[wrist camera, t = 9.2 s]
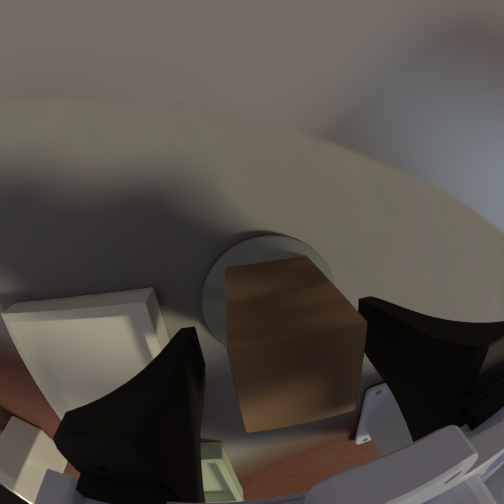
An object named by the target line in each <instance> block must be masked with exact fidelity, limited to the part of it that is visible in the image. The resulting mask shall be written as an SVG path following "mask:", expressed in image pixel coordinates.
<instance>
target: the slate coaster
mask: <svg viewBox="0 0 504 504" xmlns="http://www.w3.org/2000/svg"><path fill="white" fill-rule="evenodd" d="M301 256H308V257H309V259H310V260H311V261H312V262H313V263H314V264H315V265H316V266H317V267H318V268H319V269H320V270H321V271H322V272H323V274H324V275H325V276H326V277H327V278H328V279H329V280H330V281H331V282H332V283H333V284H334V280H333V276H332V273H331V271H330V269H329V267H328V265H327V263H326V262H325V261H324V259H323V258H322V257H321V256H320V255H319V254H318V253H317V252H316V251H315V250H314V249H313V248H311V247H310V246H309V245H307V244H306V243H304V242H302V241H300V240H298V239H296V238H293V237H290V236H285V235H279V234H265V235H258V236H253V237H250V238H247V239H244V240H242V241H240V242H238V243H236V244H234V245H233V246H231V247H230V248H228V249H227V250H226V251H225V252H224V253H223V254H221V255H220V256H219V258H218V259H217V260H216V261H215V262H214V264H213V265H212V267H211V268H210V270H209V272H208V274H207V277H206V280H205V283H204V287H203V293H202V310H203V315H204V319H205V322H206V324H207V326H208V328H209V329H210V331H211V332H212V334H213V335H214V336H215V337H216V339H217V340H218V341H219V342H221V343H222V344H223V345H224V346H226V347H227V334H226V287H225V267H232V266H240V265H247V264H254V263H260V262H267V261H274V260H281V259H288V258H295V257H301ZM334 286H335V284H334Z"/></svg>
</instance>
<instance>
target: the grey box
mask: <svg viewBox="0 0 504 504" xmlns="http://www.w3.org/2000/svg"><path fill="white" fill-rule="evenodd" d="M1 315H2V318H3V320H4V322H5V325H6V327H7V329H8V331H9V334H10V336H11V338H12V340H13V342H14V344H15V346H16V348H17V350H18V352H19V354H20V356H21V358H22V360H23V361H24V363H25V365H26V367H27V369H28V370H29V372H30V374H31V375H32V377H33V379H34V381H35V382H36V384H37V385H38V387H39V389H40V390H41V392H42V393H43V395H44V396H45V398H46V399H47V401H48V402H49V404H50V405H51V407H52V408H53V409H54V411H55V412H56V414H57V415H58V416H59V418H60V419H61V420H62V419H63V417H64V415H65V413H66V412H67V411H70V410H73V409H76V408H78V407H81V406H84V405H86V404H89V403H91V402H93V401H95V400H97V399H100V398H102V397H103V396H105V395H107V394H109V393H111V392H112V391H114V390H116V389H117V388H119V387H120V386H122V385H123V384H125V383H126V382H128V381H129V380H130V379H132V378H133V377H134V376H136V375H137V374H138V373H139V372H140V371H142V370H143V369H144V368H145V367H146V366H147V365H148V364H149V363H150V362H151V361H152V360H153V359H154V358H155V357H156V356H157V355H158V354H159V353H160V352H161V351H162V350H163V349H164V347H165V346H166V345H167V344H168V343H169V342H170V340H169V337H168V334H167V331H166V328H165V324H164V321H163V318H162V314H161V311H160V307H159V304H158V300H157V297H156V293H155V289H154V287H149V288H141V289H133V290H125V291H117V292H108V293H100V294H91V295H82V296H73V297H64V298H55V299H45V300H35V301H24V302H15V303H14V304H12V305H11V306H10V307H9V308H7V309H6V310H5V311H4V312H3V313H1Z"/></svg>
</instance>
